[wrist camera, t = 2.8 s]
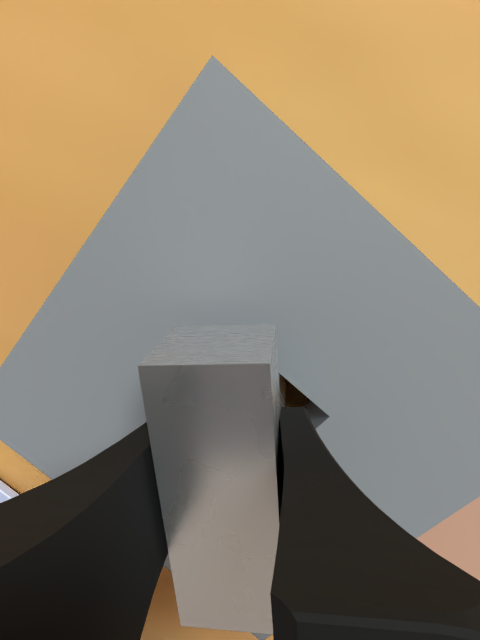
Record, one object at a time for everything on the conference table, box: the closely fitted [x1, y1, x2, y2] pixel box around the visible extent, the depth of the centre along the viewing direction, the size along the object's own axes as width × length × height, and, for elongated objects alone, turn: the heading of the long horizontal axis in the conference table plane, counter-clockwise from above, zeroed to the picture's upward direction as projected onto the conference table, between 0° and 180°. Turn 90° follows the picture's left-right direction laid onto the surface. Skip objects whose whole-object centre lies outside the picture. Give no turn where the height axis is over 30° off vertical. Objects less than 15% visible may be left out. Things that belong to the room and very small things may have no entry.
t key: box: [138, 323, 286, 635], centre depth 11 cm, size 7×3×6 cm, turn 4°
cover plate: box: [0, 56, 480, 640], centre depth 13 cm, size 14×14×2 cm
